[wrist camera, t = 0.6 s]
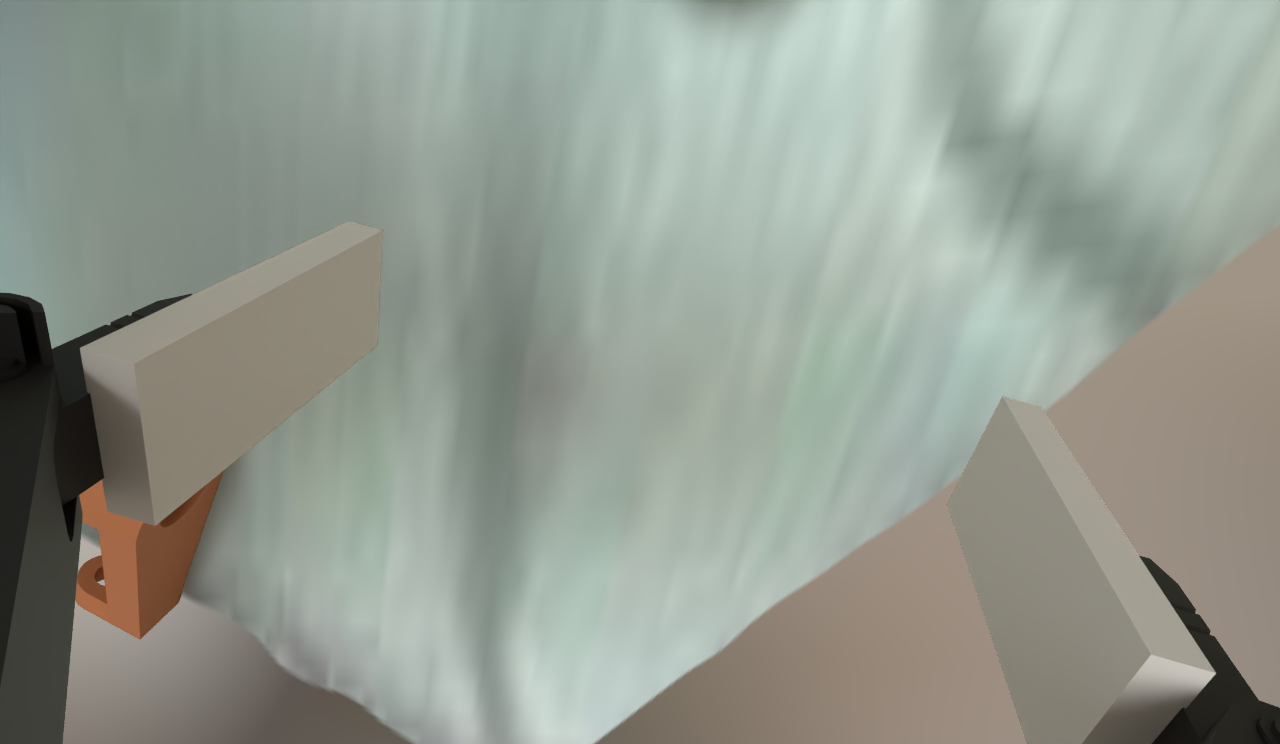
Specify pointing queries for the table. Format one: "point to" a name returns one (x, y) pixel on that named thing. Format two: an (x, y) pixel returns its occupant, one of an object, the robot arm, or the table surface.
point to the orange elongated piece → (139, 560)
